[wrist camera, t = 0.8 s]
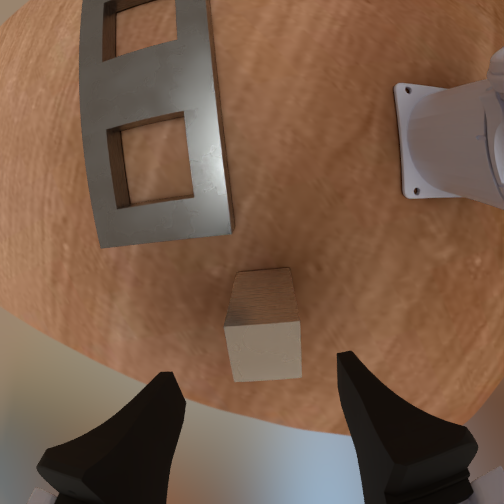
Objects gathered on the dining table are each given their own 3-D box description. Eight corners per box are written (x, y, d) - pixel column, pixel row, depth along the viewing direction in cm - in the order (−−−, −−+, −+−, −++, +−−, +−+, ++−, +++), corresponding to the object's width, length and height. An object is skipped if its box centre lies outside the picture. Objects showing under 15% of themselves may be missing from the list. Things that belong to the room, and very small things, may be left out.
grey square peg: (289, 267, 20) (300, 320, 14) (292, 313, 21) (301, 377, 15) (236, 272, 21) (223, 326, 14) (243, 317, 22) (234, 381, 15)
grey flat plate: (206, -35, 14) (201, -49, 12) (235, 226, 20) (231, 234, 18) (95, -1, 14) (84, -10, 12) (113, 240, 20) (100, 248, 18)
